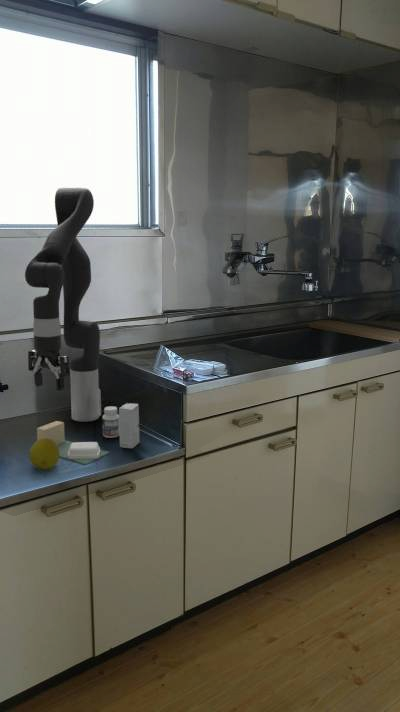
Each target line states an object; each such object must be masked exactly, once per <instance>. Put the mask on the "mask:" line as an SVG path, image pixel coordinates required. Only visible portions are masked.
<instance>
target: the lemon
mask: <svg viewBox="0 0 400 712" xmlns="http://www.w3.org/2000/svg"><path fill="white" fill-rule="evenodd" d="M59 454H60V452H59V448H58V446H57V445H56V443H55V442H54V441H52V440H50V439H47V438H44V439H40V440H38V441H37V440H36V441H35V442H34V443H33V444H32V445H31V448H30V451H29V461H30V462H31V464H32V465H33V466H34V467H35V468H37V469H39V470H42V471H47V470H48V471H49V470H51V469H53V468H54V467H55V466H56V465H57V464H58V462H59V460H60V457H59Z"/></svg>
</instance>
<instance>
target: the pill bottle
mask: <svg viewBox="0 0 400 712" xmlns="http://www.w3.org/2000/svg"><path fill="white" fill-rule="evenodd" d="M103 411H104V414H103V415H102V417H101V418H102V435H103V437H104V438H107V439H108V438H109V439H114V438H117V437H120V431H119V413H118V407H117V406H106V407H104V410H103Z"/></svg>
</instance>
